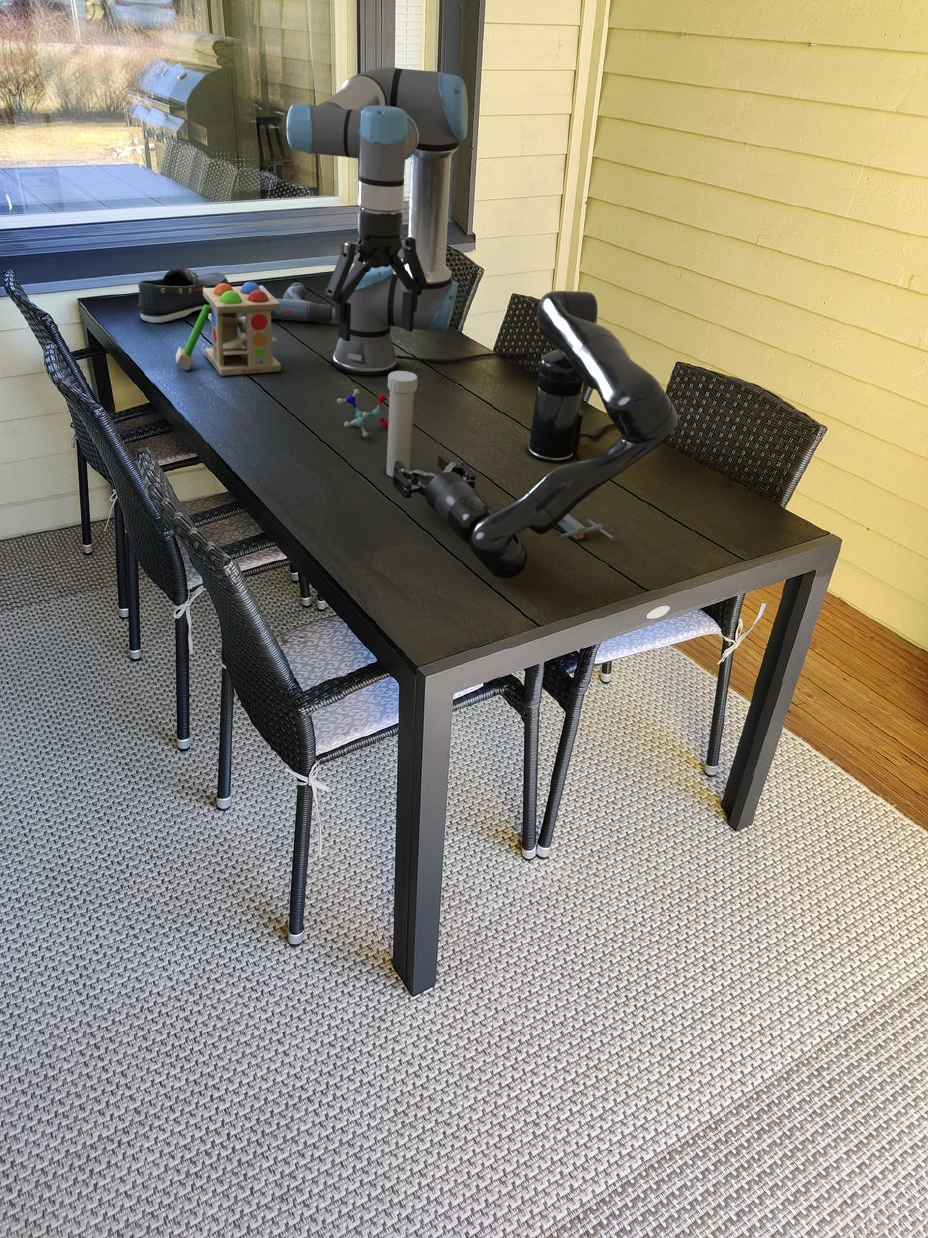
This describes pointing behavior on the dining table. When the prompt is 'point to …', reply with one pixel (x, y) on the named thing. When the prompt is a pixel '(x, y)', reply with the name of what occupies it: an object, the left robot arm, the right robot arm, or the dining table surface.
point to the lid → (402, 382)
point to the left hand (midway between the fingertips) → (376, 334)
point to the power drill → (301, 307)
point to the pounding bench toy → (229, 347)
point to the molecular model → (360, 415)
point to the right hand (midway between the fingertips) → (418, 462)
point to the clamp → (580, 528)
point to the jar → (399, 430)
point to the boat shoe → (175, 294)
